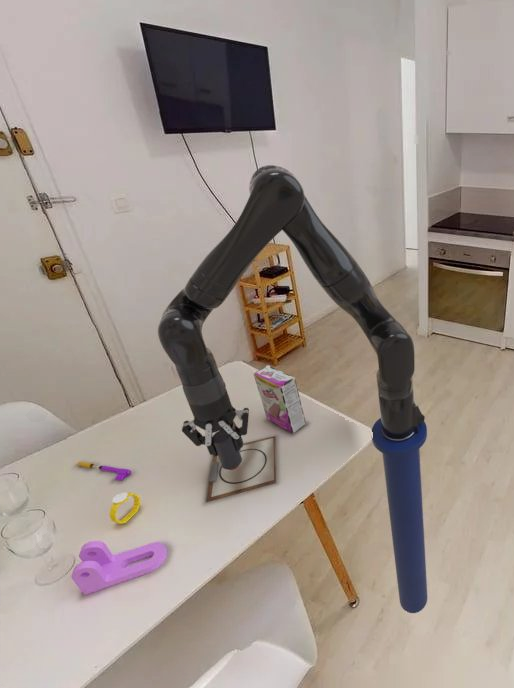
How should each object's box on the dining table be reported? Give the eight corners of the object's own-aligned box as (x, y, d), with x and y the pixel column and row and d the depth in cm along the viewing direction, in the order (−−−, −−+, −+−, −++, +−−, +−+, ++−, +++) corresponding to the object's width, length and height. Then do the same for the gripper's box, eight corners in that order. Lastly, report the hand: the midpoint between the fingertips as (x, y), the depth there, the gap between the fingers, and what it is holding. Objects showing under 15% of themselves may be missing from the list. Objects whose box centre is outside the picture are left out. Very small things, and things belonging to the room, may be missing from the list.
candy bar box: (266, 420, 115) (252, 373, 107) (280, 410, 119) (267, 364, 111) (293, 435, 110) (280, 386, 102) (307, 424, 113) (295, 376, 105)
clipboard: (275, 437, 109) (274, 433, 109) (276, 482, 96) (275, 479, 96) (214, 452, 105) (212, 448, 104) (206, 502, 92) (205, 498, 91)
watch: (124, 529, 86) (112, 511, 83) (113, 527, 87) (101, 509, 84) (146, 505, 92) (136, 487, 89) (136, 503, 92) (125, 485, 89)
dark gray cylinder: (243, 456, 100) (233, 427, 95) (242, 469, 96) (231, 439, 91) (224, 461, 98) (212, 431, 94) (222, 474, 95) (210, 445, 90)
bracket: (84, 595, 75) (67, 573, 72) (93, 567, 79) (77, 545, 76) (164, 567, 79) (151, 545, 76) (169, 542, 84) (156, 520, 80)
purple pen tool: (133, 471, 100) (81, 462, 103) (130, 469, 99) (77, 459, 102) (125, 481, 98) (72, 472, 101) (122, 479, 97) (69, 469, 100)
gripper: (165, 411, 81) (191, 471, 90) (241, 395, 85) (260, 454, 94) (172, 390, 88) (196, 447, 96) (243, 375, 92) (260, 432, 100)
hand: (227, 450), depth 95 cm, fingers closed on dark gray cylinder, 4 cm apart
